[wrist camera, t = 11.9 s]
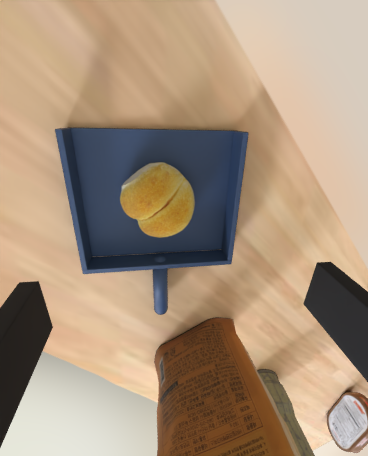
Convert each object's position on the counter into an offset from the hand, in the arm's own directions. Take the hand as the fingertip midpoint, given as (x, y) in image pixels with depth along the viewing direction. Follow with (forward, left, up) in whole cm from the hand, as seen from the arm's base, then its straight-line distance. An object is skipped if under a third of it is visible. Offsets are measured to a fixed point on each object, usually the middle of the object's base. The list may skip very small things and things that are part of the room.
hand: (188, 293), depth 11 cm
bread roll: (+2, -1, -20) cm, 20 cm away
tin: (+58, +44, -20) cm, 75 cm away
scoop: (+6, -1, -20) cm, 21 cm away
